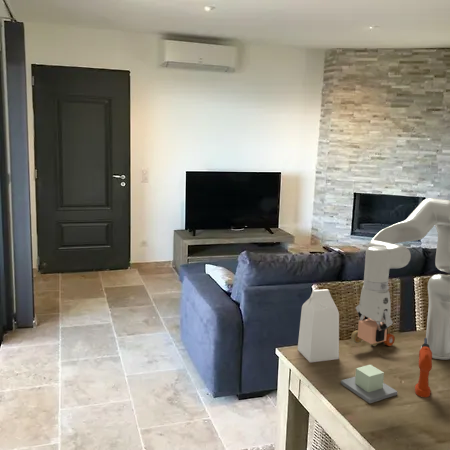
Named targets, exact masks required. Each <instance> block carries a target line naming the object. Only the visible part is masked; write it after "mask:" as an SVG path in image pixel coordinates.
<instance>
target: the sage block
mask: <svg viewBox="0 0 450 450" xmlns="http://www.w3.org/2000/svg"><path fill="white" fill-rule="evenodd" d="M354 377H355V384H356V385H358V386H359V387H361V388H362V389H364V390H365V391H367V392H371V391H375V390H378V389H381V388H383V383H384V380H385V372H384V371H382V370H380V369H379V368H377V367H375V366H373V364H367V365H363V366H360V367H357V368H356V367H355V376H354Z"/></svg>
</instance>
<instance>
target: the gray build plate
mask: <svg viewBox="0 0 450 450" xmlns="http://www.w3.org/2000/svg"><path fill="white" fill-rule="evenodd" d="M340 384H341V385H342V386H343V387H345V388H347V389H348V390H349V391H351V392H353V394H355V395H357V396H358V397H360V399H363V400H364V401H365V402H367V403H368V404H372V403H376V402H380V401H382V400H384V399H388V398H391V397H395V396H397V395H398V391H397V390H396V389H394V388H393V387H391V386H390V385H388V384H387V383H385V382H383V388H381V389H378V390H375V391H371V392H367V391H365V390H364V389H362V388H361V387H359V386H358V385H356V384H355V376H352V377H348V378H346V379H341V380H340Z"/></svg>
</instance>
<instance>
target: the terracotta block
mask: <svg viewBox="0 0 450 450" xmlns="http://www.w3.org/2000/svg"><path fill="white" fill-rule="evenodd" d="M380 324H381V326H382V322H380ZM357 327H358V328H357V330H358V337H359V338H361V339H363V340H362V341H365V342H366V343H368V344H370V345H371V344H374V343H378V342H376V330H378V327H377V323H376V321H374V320H372V319H366V320H361V321H360V320H358V326H357ZM386 336H387V329H386V330H385V336H384V341H386ZM380 342H382V343H384V342H383V341H380ZM378 344H379V343H378Z"/></svg>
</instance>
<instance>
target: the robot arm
mask: <svg viewBox="0 0 450 450" xmlns="http://www.w3.org/2000/svg"><path fill="white" fill-rule="evenodd" d="M433 227H435V228H436V231H437V243H436V253H435V260H434V263H435V268H437V270H439V271H441V272H444V273H448V274H450V199H443V198H442V199H441V198H437V197H436V198H435V197H430V198H429V197H428V198H425V199H423V200H422V201H421V202H420V203H419V204H418V205H417V207H415V208H414V210H413V211H412V212H411V213H410V214H409V215H408V217H407V218H406V219H404V220H402V221H400V222H397V223H394V224H391V225H390V226H387V227H385V228H383V229H381V230H380V231H379V232H377V233H376V234H375V235H374V237H373V238H372V239H371V240H370V241H369V242H368V245H367V246H366V250H365V260H364V273H363V274H364V275H363V286H362V287H361V292H360V297H359V303H358V305H357V306H355V310H356V312H357V315H358V317H359V321H361V320H366V319H369V318H370V319H372V320H374V321H376V323H377V327H378V330H376V342H380V341H384V336H385V330H386V329H387V328H388V327H389V326H390V325H391V326H392V325H393V323H394V322H393V320H392V318H391V315H392V314H391V312H392V311H391V310H392V309H391V305H392V304H391V303H392V302H391V294H390V291H389V289H390V285H389V278H390V277H389V276H390V275H389V274H390V269H401V268H404V267H406V266H408V265H409V263H410V262H411V257H412V255H411V251H410V249H409V248H407V247H406V246H404V245H401V244H398V243H406V242H407V243H408V242H415V241H419V240H422V239H424V238H425V237H426V236H427V234H429V232H430V231H431V230H432V229H433ZM427 293H428V312H427V318H426V319H427V320H426V331H425V338H427V344H428V345H429V347H430V350H431V351H432V359H435V360H446V361H447V360H448V361H449V360H450V275H447V274H441V273H436V274H433V275H431V277H430V278H429V279H428V282H427ZM385 320H386V322H385ZM380 322H382V326H381V324H380ZM421 348H422V345H421V346H420V349H421Z"/></svg>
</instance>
